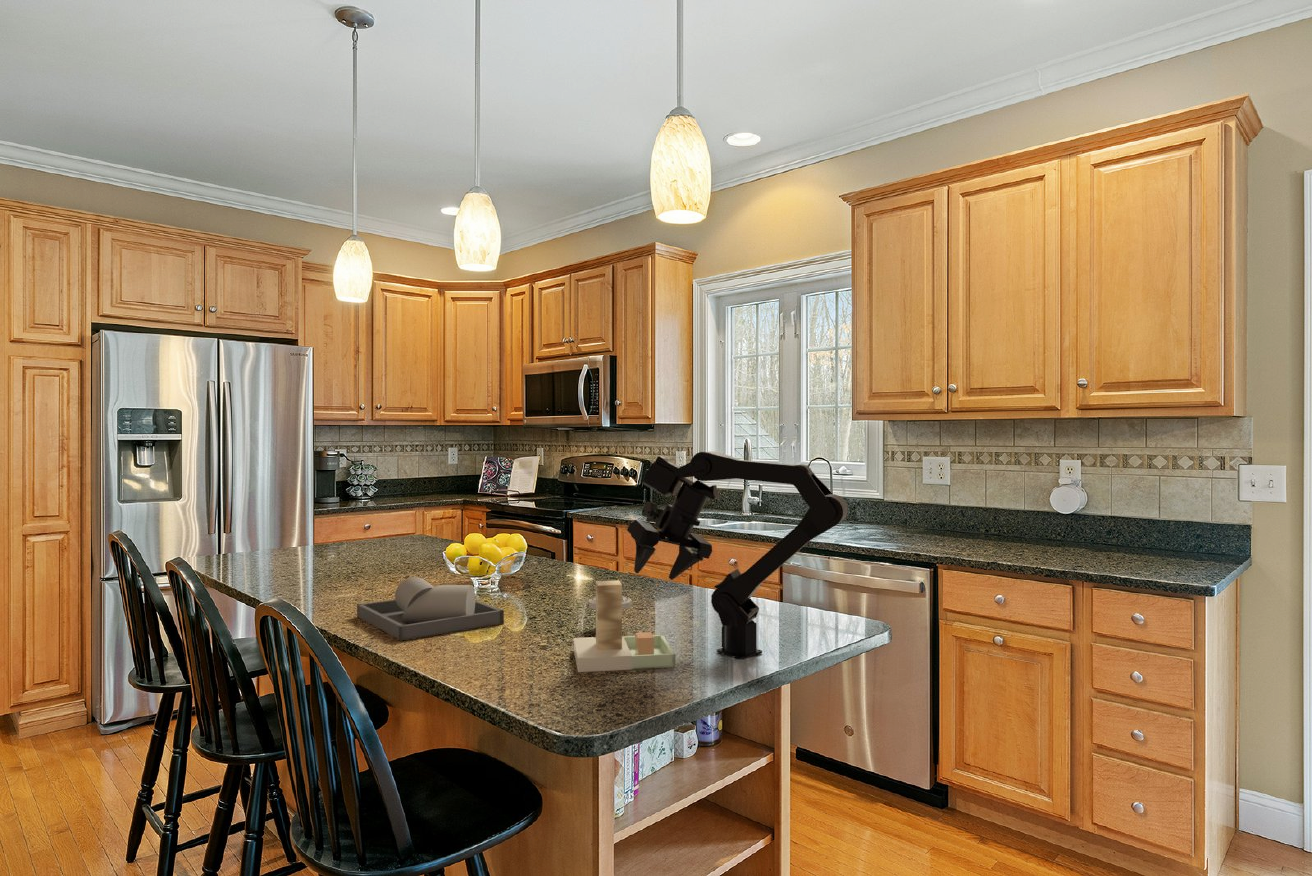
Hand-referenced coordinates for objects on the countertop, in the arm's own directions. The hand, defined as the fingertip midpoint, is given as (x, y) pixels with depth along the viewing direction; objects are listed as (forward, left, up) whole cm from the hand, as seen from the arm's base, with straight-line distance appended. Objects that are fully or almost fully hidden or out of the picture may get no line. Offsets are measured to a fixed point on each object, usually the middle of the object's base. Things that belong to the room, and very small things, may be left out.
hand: (653, 575), depth 156 cm
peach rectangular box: (-6, +9, -12) cm, 16 cm away
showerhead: (+16, -1, -14) cm, 22 cm away
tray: (-7, +7, -14) cm, 17 cm away
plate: (-2, +14, -14) cm, 20 cm away
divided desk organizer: (+48, +27, -14) cm, 57 cm away
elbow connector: (+48, +27, -14) cm, 57 cm away
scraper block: (-3, +13, -11) cm, 18 cm away
